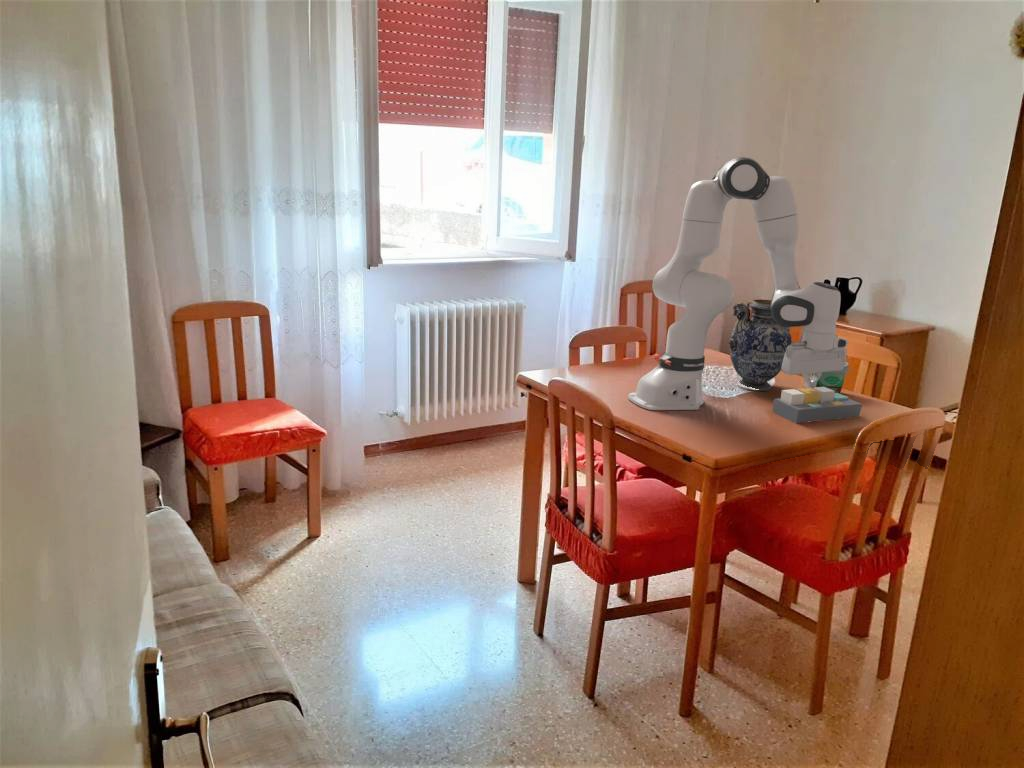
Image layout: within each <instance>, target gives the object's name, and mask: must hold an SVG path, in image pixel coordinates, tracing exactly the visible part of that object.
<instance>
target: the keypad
mask: <svg viewBox="0 0 1024 768" xmlns="http://www.w3.org/2000/svg"><path fill="white" fill-rule="evenodd" d="M780 399H781V397H780V398H774V400H773V407H772V412H773V414H776V415H777V416H780V417H782V418H784V419H787V420H789V421H790V420H791V422H792V421H793V423H794V422H795V423H794V424H802V423H801V422H805V423H809V422H808V421H815V422H818V421H817V420H824V421H830V420H829V419H834V420H839V419H838V418H844V419H848V418H847V417H854V418H860V416H861V411H862V407H863V406H862V405H863V404H862V403H861V402H859V401H855V400H854V399H851V398H849V397H848V400H842V401H835V400H833V401H831V402H818V403H809V404H806V403H803V404H798V405H789V404H787V403H785V402H783V401H781V400H780Z"/></svg>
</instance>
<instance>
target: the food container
mask: <svg viewBox="0 0 1024 768" xmlns="http://www.w3.org/2000/svg"><path fill="white" fill-rule="evenodd" d="M849 372H850V365H849V363H848V362H847V361H846V362H845V366H844V368H843V369H842V370H841V371H830V372H822V374H821V377H820V378H819V380H818V381H817V384H816V387H826V388H829V389H831V390H834V391H835V393H839V394H842V393H841V392H842V389H843V385H844V382H845V378H846V375H847V373H849ZM813 375H814V374H812V375H811V378H812V377H813ZM810 388H811V389H812V388H814V387H810Z"/></svg>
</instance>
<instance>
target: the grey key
mask: <svg viewBox="0 0 1024 768" xmlns="http://www.w3.org/2000/svg"><path fill="white" fill-rule="evenodd" d="M812 389H813V390H816V391H818V392H820V396H819V402H831V401H833V400H834V394H835V391H834V390H831V389H829V388H826V387H814V388H812Z"/></svg>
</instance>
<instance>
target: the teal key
mask: <svg viewBox="0 0 1024 768" xmlns="http://www.w3.org/2000/svg"><path fill="white" fill-rule="evenodd" d="M848 398H849V396H847V395H843V394H842V393H840V394H839V393H835V394H834V400H835V401H842V400H848Z"/></svg>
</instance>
